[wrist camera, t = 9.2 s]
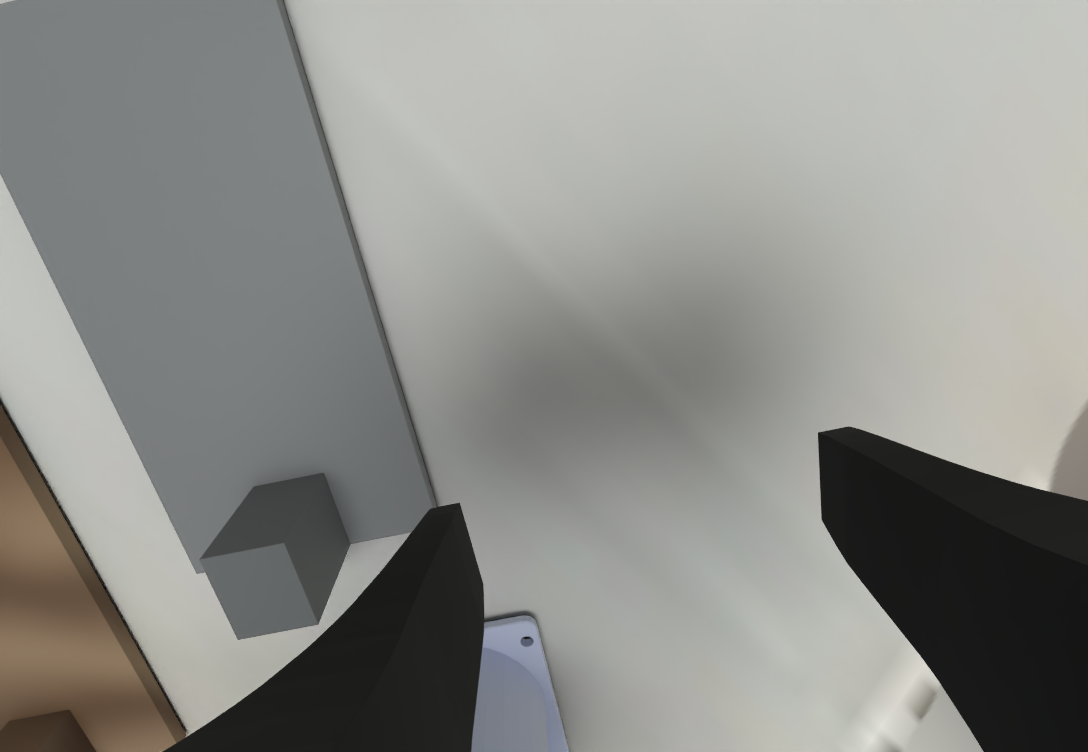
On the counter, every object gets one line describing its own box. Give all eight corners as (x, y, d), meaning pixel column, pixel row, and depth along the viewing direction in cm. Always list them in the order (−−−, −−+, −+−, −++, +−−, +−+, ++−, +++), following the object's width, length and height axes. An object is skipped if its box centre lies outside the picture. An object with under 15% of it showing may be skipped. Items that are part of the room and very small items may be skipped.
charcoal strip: (440, 517, 23) (423, 604, 19) (204, 563, 23) (134, 659, 19) (267, -48, 17) (182, -112, 12) (-56, 24, 17) (-249, -14, 13)
